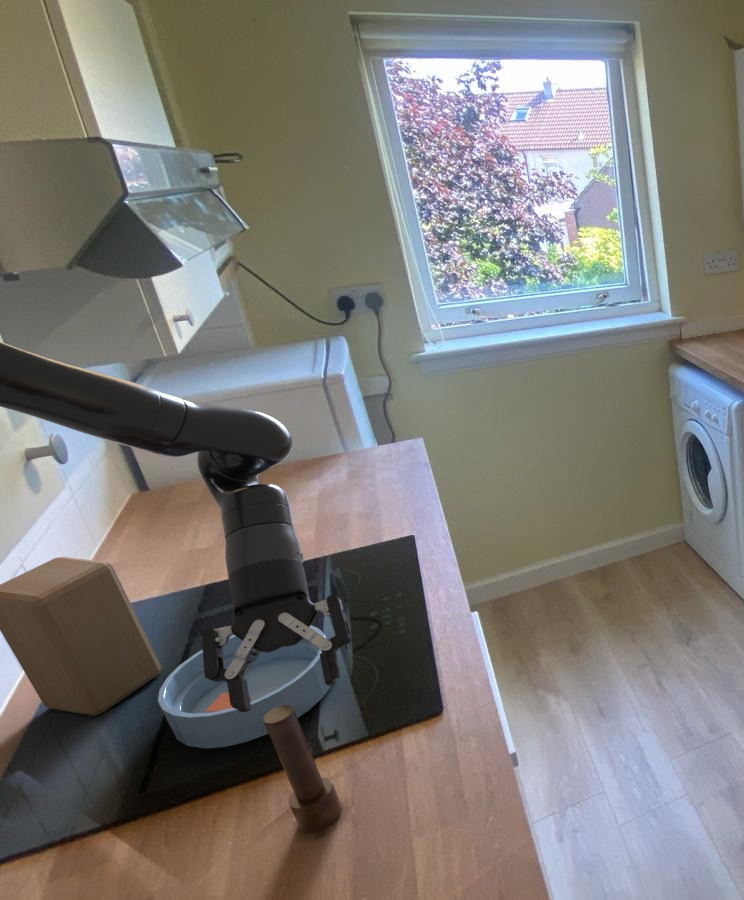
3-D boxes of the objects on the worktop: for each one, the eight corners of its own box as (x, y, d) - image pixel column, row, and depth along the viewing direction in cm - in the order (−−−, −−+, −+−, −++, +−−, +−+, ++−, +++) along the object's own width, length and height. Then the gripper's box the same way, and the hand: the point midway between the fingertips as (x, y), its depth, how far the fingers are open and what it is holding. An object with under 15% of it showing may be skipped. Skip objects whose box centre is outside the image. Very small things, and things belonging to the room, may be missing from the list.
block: (239, 730, 99) (230, 710, 97) (213, 731, 99) (204, 711, 97) (256, 711, 102) (248, 691, 101) (231, 712, 102) (222, 692, 101)
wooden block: (115, 663, 113) (58, 553, 105) (167, 671, 111) (113, 559, 103) (42, 710, 104) (-27, 593, 96) (98, 719, 102) (32, 601, 94)
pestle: (303, 840, 84) (257, 735, 77) (295, 816, 87) (250, 713, 80) (346, 817, 87) (305, 714, 80) (337, 794, 90) (297, 693, 83)
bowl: (195, 776, 93) (177, 740, 90) (159, 705, 104) (143, 672, 102) (358, 691, 106) (346, 658, 104) (310, 637, 118) (299, 606, 115)
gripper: (182, 577, 84) (202, 718, 79) (325, 543, 90) (351, 671, 85) (206, 592, 90) (226, 723, 86) (339, 559, 96) (363, 679, 92)
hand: (289, 697), depth 86 cm, fingers open, 8 cm apart
